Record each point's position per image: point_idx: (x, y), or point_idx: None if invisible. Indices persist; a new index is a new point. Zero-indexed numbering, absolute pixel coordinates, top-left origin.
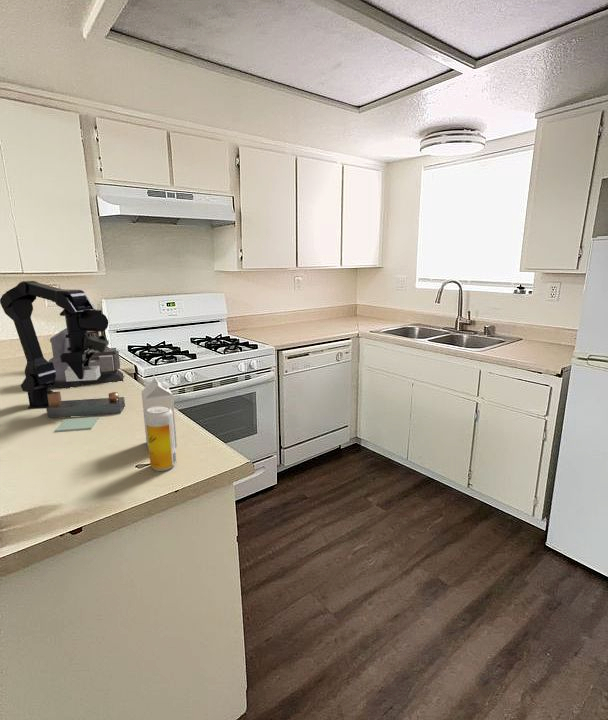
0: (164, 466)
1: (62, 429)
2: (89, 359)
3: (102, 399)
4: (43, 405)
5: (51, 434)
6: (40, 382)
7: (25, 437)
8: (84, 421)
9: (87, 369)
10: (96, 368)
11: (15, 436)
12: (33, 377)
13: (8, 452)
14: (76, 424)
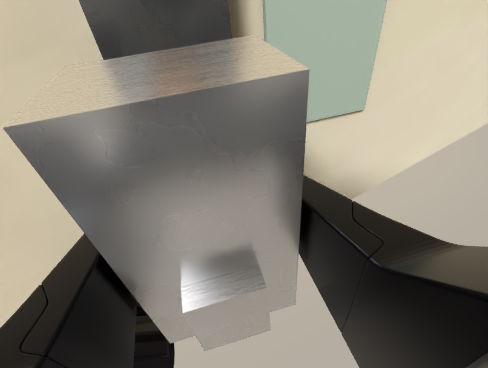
0: None
1: (366, 87)
2: (15, 364)
3: (119, 26)
4: None
5: (375, 107)
6: (158, 331)
7: (368, 162)
8: (310, 38)
9: (282, 182)
10: (235, 81)
11: (352, 186)
12: (170, 364)
13: (442, 145)
14: (334, 58)
